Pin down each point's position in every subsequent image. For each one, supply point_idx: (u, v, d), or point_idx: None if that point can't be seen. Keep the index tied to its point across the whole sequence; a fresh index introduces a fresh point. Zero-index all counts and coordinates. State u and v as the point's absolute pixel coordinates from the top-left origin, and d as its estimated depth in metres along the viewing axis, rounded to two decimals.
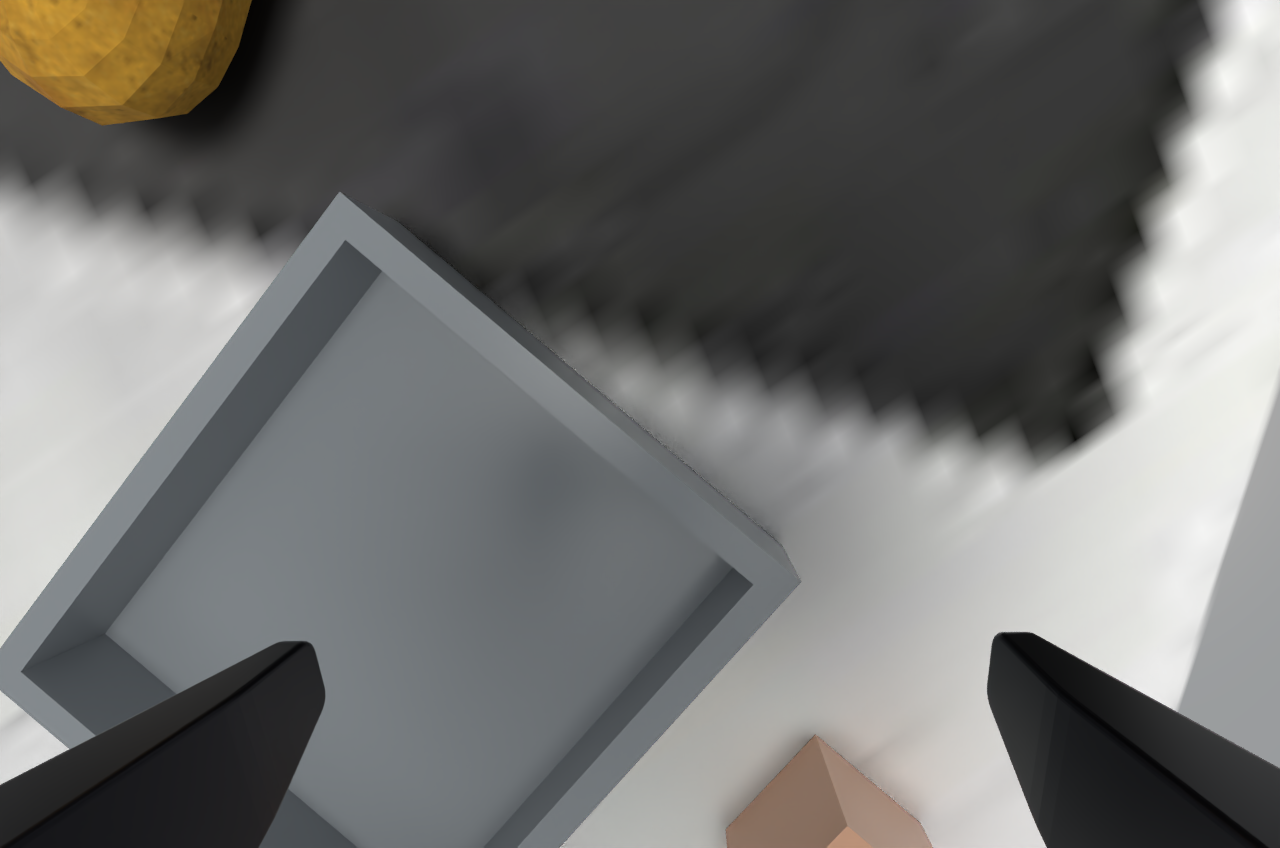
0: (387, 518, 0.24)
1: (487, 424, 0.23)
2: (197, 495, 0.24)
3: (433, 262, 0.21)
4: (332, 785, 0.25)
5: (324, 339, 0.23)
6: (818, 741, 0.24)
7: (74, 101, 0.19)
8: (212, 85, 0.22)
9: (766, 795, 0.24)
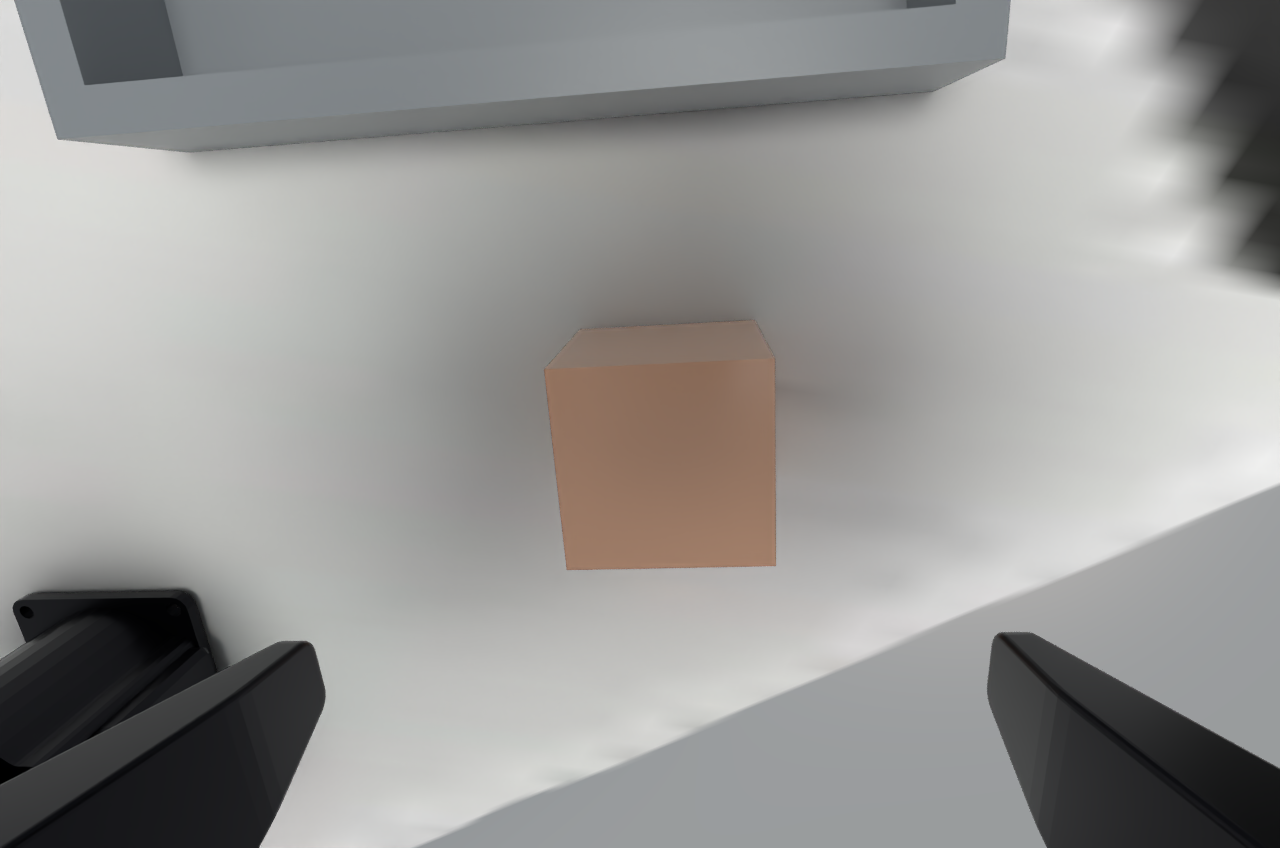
0: None
1: None
2: None
3: None
4: None
5: None
6: (756, 323, 0.18)
7: None
8: None
9: (655, 327, 0.19)
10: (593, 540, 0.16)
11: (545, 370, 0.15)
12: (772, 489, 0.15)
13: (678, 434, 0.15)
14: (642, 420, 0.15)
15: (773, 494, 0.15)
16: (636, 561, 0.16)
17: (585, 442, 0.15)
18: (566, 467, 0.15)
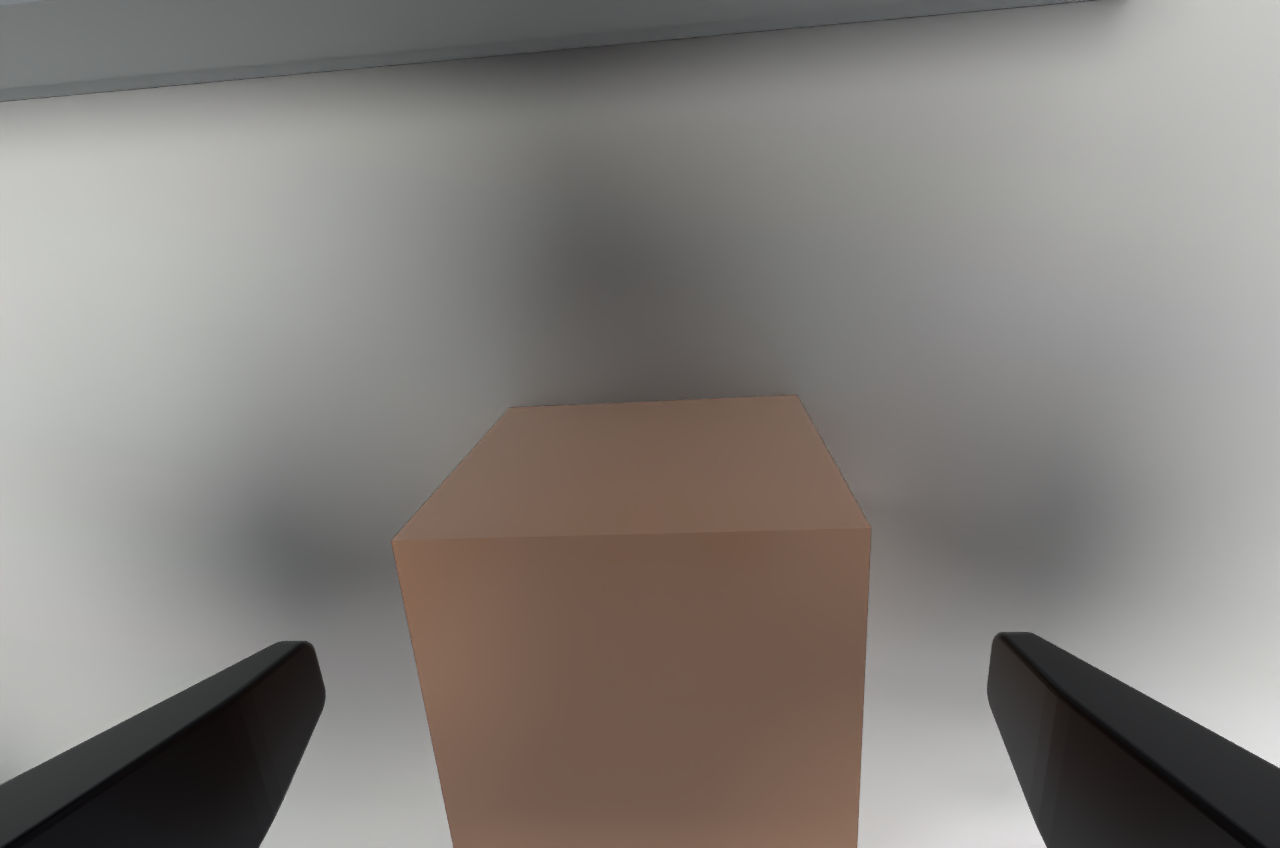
0: None
1: None
2: None
3: None
4: None
5: None
6: None
7: None
8: None
9: (632, 409, 0.11)
10: (507, 840, 0.08)
11: (394, 542, 0.07)
12: (853, 767, 0.08)
13: (667, 664, 0.07)
14: (595, 638, 0.07)
15: (855, 774, 0.08)
16: None
17: (481, 676, 0.08)
18: (448, 717, 0.08)
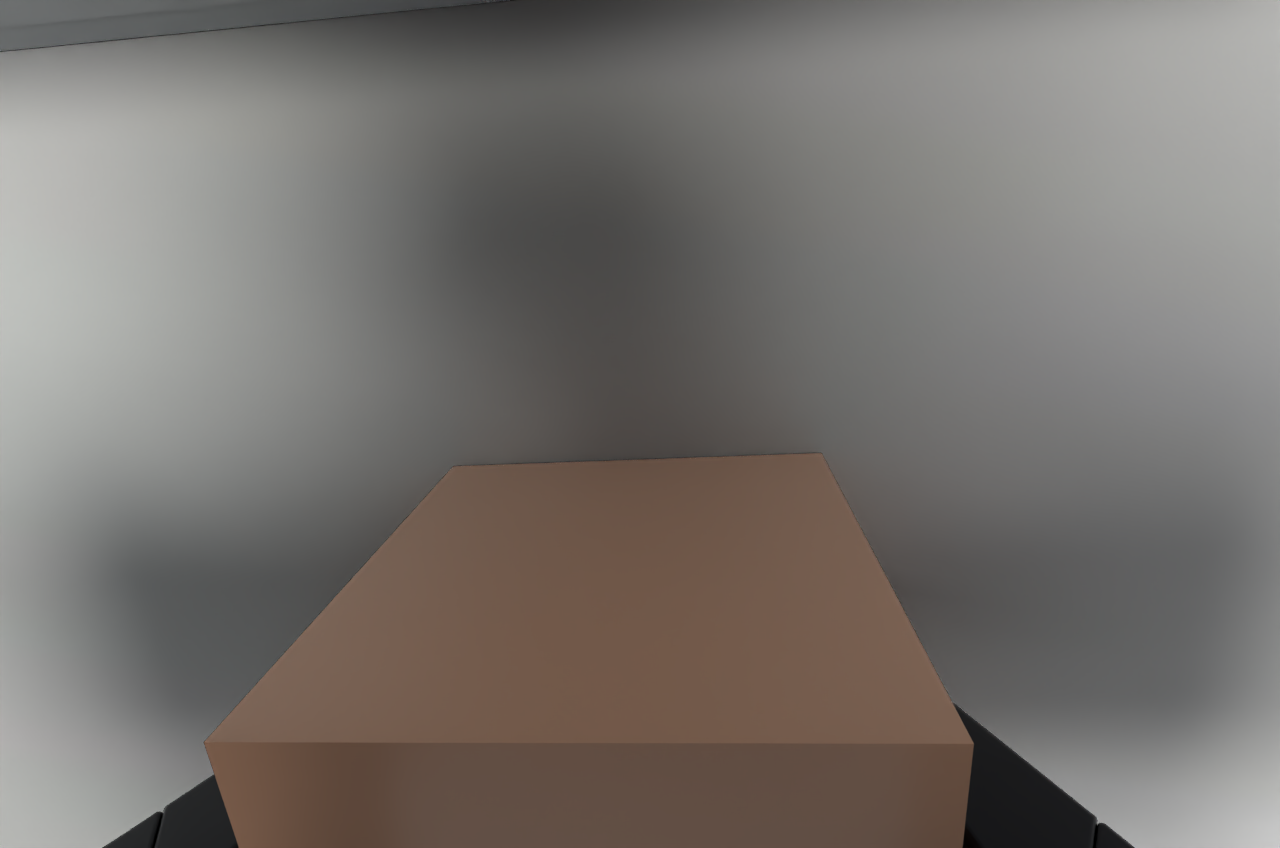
0: None
1: None
2: None
3: None
4: None
5: None
6: (828, 470, 0.08)
7: None
8: None
9: (607, 475, 0.09)
10: None
11: (208, 745, 0.05)
12: None
13: None
14: None
15: None
16: None
17: None
18: None
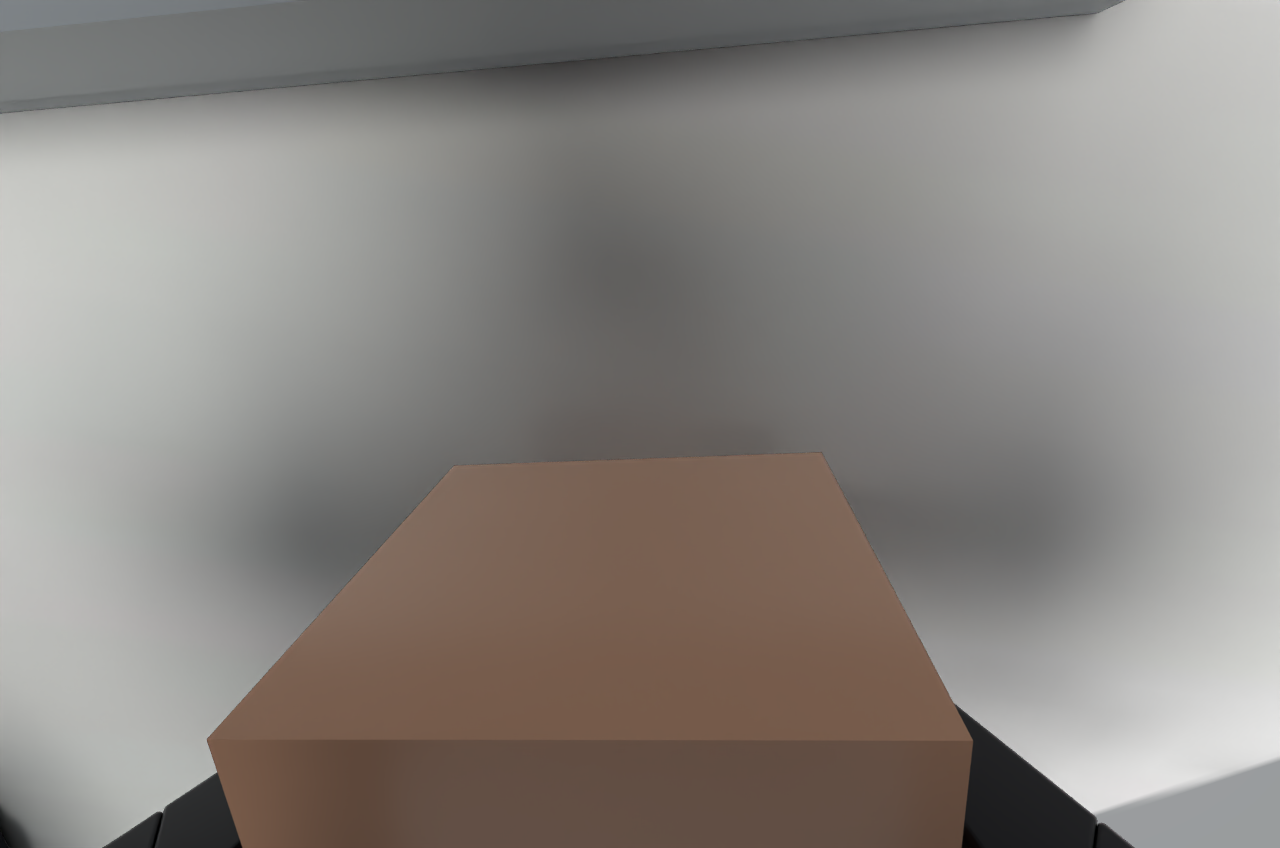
0: None
1: None
2: None
3: None
4: None
5: None
6: (828, 469, 0.08)
7: None
8: None
9: (608, 474, 0.09)
10: None
11: (211, 742, 0.05)
12: None
13: None
14: None
15: None
16: None
17: None
18: None
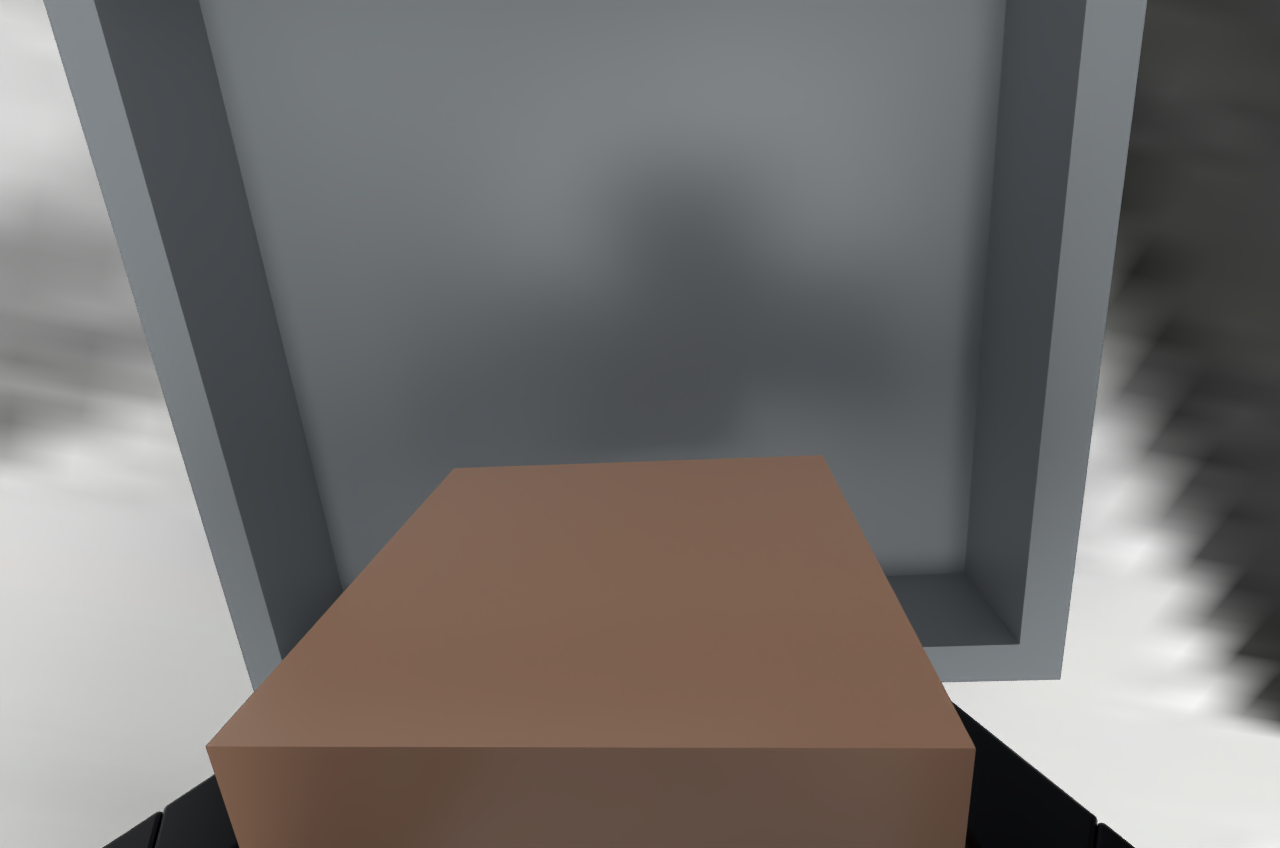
0: (676, 200, 0.16)
1: (888, 211, 0.16)
2: None
3: None
4: (343, 409, 0.18)
5: None
6: (829, 472, 0.08)
7: None
8: None
9: (608, 477, 0.09)
10: None
11: (211, 749, 0.05)
12: None
13: None
14: None
15: None
16: None
17: None
18: None
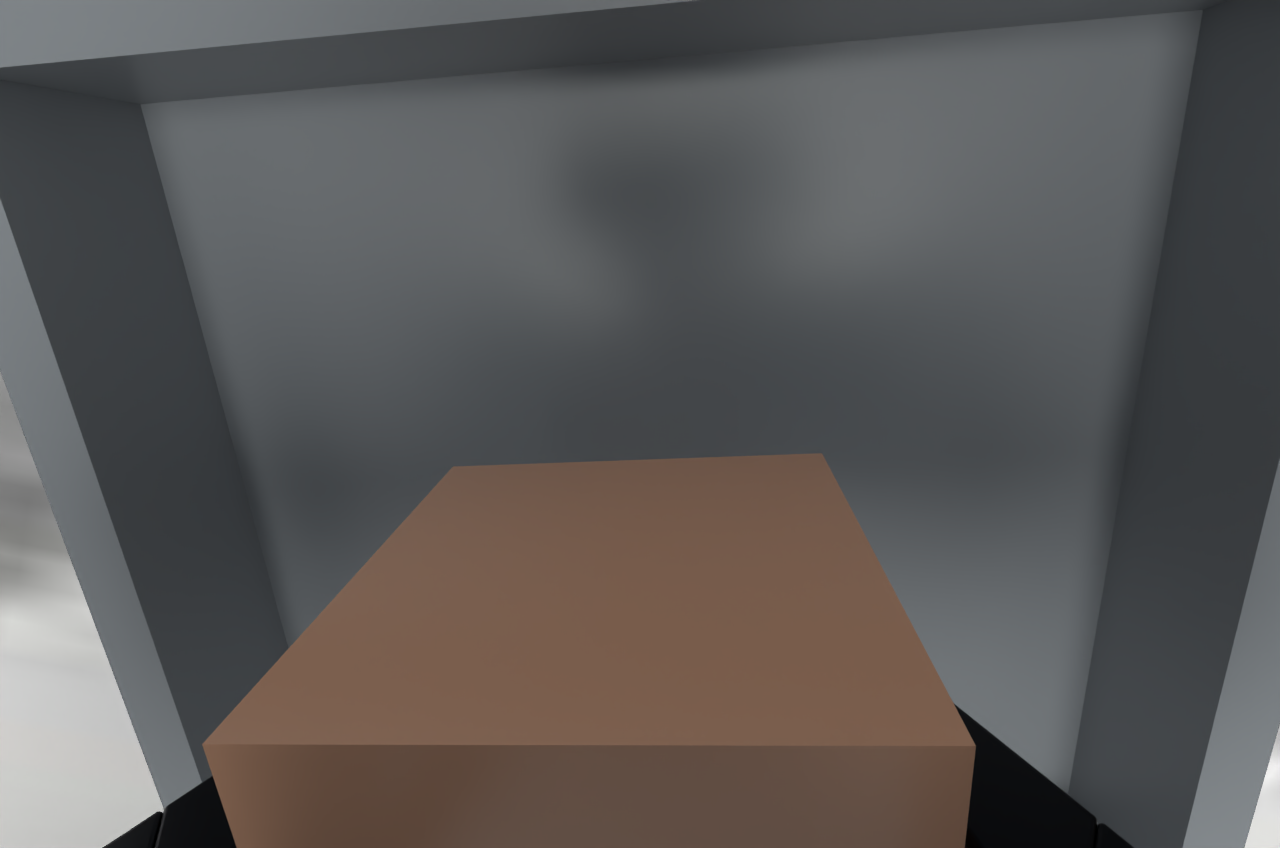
0: (738, 374, 0.13)
1: (1005, 396, 0.13)
2: (515, 60, 0.11)
3: None
4: (326, 593, 0.15)
5: (965, 26, 0.11)
6: (829, 470, 0.08)
7: None
8: None
9: (607, 475, 0.09)
10: None
11: (207, 747, 0.04)
12: None
13: None
14: None
15: None
16: None
17: None
18: None
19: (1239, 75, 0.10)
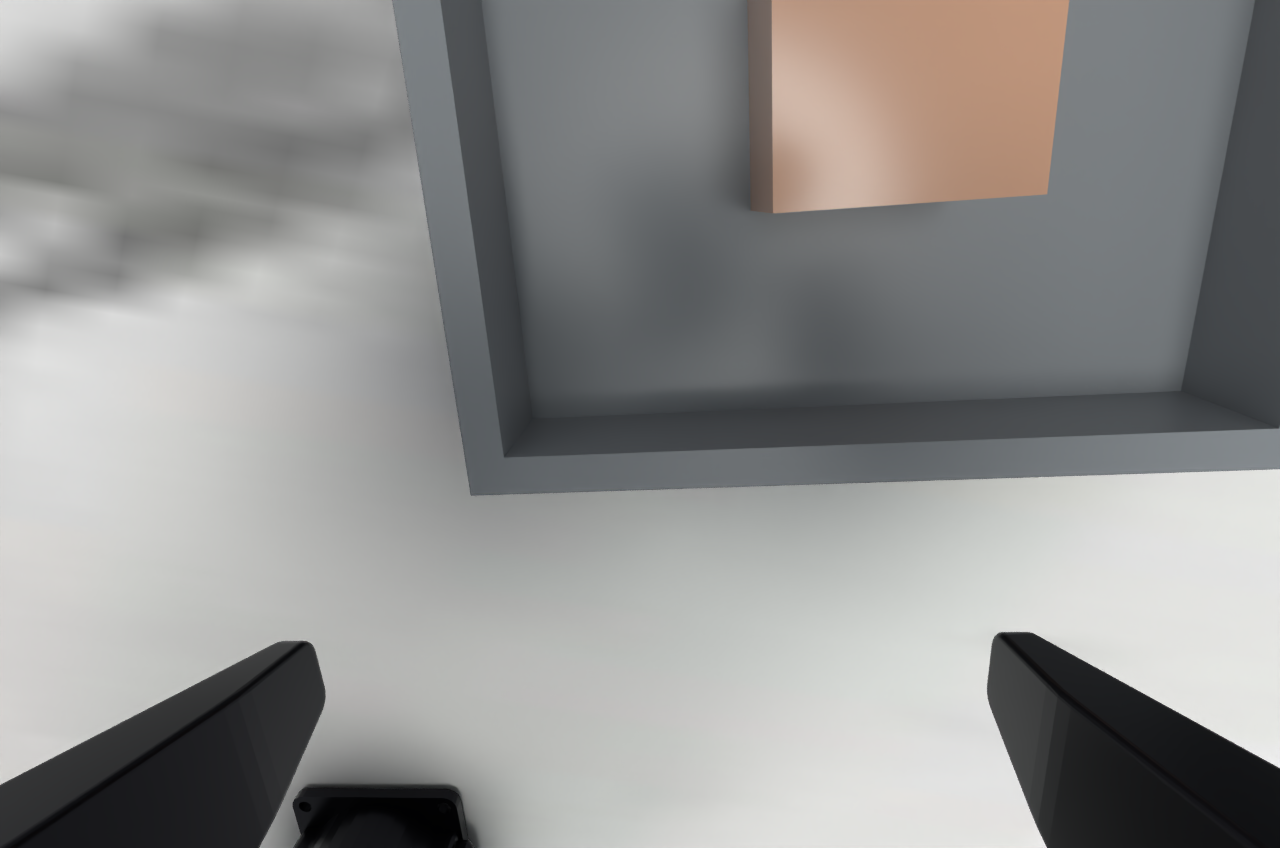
0: None
1: None
2: None
3: None
4: (554, 212, 0.18)
5: None
6: None
7: None
8: None
9: None
10: (811, 167, 0.12)
11: None
12: (1055, 76, 0.12)
13: None
14: None
15: (1055, 85, 0.12)
16: (865, 197, 0.13)
17: (814, 15, 0.12)
18: (786, 56, 0.12)
19: None
